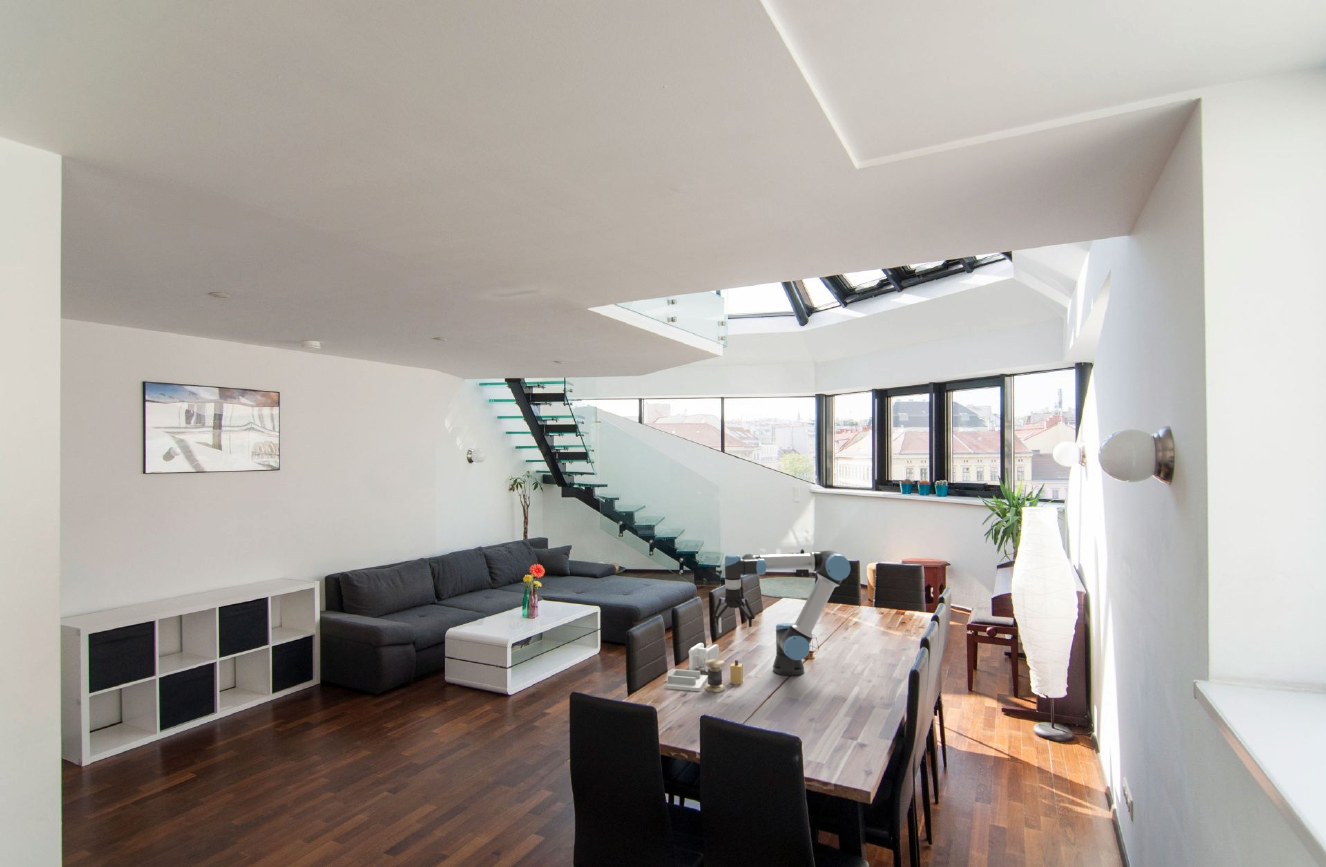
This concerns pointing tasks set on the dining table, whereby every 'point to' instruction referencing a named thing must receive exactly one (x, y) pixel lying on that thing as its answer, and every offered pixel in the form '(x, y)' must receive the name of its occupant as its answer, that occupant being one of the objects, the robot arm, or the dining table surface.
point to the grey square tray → (686, 680)
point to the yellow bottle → (736, 672)
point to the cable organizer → (702, 656)
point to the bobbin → (714, 676)
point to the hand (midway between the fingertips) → (734, 633)
